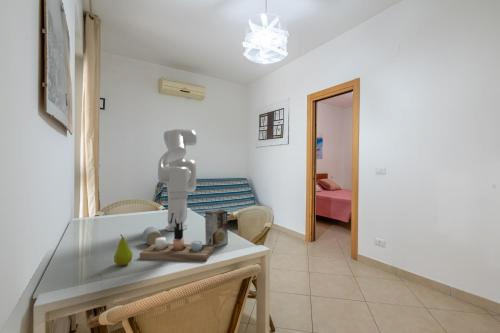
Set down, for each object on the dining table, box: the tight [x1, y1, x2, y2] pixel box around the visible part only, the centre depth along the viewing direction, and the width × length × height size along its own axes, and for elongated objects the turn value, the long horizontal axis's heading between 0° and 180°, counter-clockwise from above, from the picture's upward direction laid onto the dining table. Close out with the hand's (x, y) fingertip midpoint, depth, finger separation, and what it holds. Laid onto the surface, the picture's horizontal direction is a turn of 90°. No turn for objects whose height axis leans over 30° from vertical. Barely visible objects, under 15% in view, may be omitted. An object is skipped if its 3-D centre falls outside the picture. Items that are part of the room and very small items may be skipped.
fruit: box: [113, 233, 133, 267], centre depth 88 cm, size 6×6×12 cm
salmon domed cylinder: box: [172, 237, 185, 250], centre depth 98 cm, size 4×4×4 cm
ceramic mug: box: [142, 226, 168, 246], centre depth 113 cm, size 11×8×8 cm
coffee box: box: [204, 209, 229, 249], centre depth 111 cm, size 9×6×16 cm
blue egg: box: [190, 240, 203, 252], centre depth 97 cm, size 4×4×4 cm
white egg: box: [155, 236, 167, 250], centre depth 99 cm, size 4×4×4 cm
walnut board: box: [139, 242, 215, 262], centre depth 98 cm, size 12×28×2 cm, turn 84°
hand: (178, 238), depth 98 cm, fingers closed
